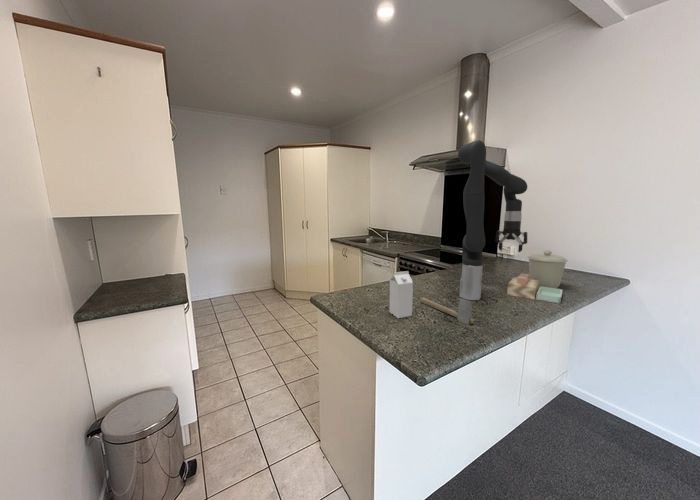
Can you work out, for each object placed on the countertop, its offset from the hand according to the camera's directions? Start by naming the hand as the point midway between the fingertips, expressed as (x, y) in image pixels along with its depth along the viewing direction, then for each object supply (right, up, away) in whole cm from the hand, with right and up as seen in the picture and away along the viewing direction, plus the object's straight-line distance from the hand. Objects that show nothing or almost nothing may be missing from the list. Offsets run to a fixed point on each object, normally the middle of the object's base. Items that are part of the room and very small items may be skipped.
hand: (510, 251), depth 142 cm
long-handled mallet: (-43, -27, -23) cm, 55 cm away
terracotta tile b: (+10, -16, +4) cm, 19 cm away
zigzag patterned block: (+8, -22, +1) cm, 24 cm away
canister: (+26, -21, +12) cm, 35 cm away
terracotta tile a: (+6, -17, -1) cm, 18 cm away
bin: (+16, -23, -6) cm, 29 cm away
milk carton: (-62, -28, -24) cm, 72 cm away
